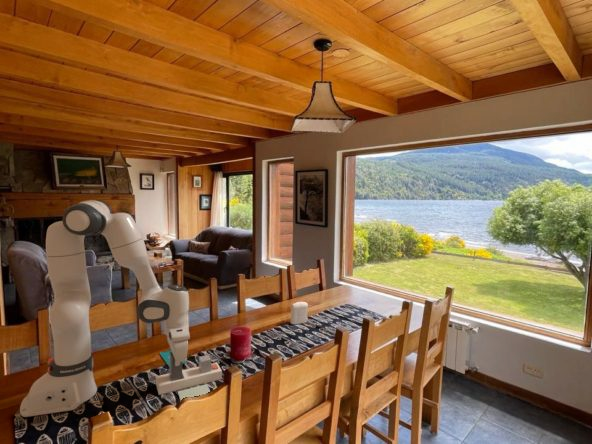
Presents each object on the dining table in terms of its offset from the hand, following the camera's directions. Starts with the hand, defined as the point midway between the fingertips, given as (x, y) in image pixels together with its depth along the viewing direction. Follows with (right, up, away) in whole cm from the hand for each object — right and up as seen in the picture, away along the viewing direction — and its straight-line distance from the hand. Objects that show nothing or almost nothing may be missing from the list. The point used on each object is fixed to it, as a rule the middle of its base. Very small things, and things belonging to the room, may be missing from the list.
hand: (175, 361), depth 131 cm
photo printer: (+48, -5, +66) cm, 82 cm away
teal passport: (-9, -8, +21) cm, 24 cm away
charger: (0, -6, +1) cm, 6 cm away
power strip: (+4, -10, +4) cm, 11 cm away
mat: (+8, -11, -4) cm, 14 cm away
